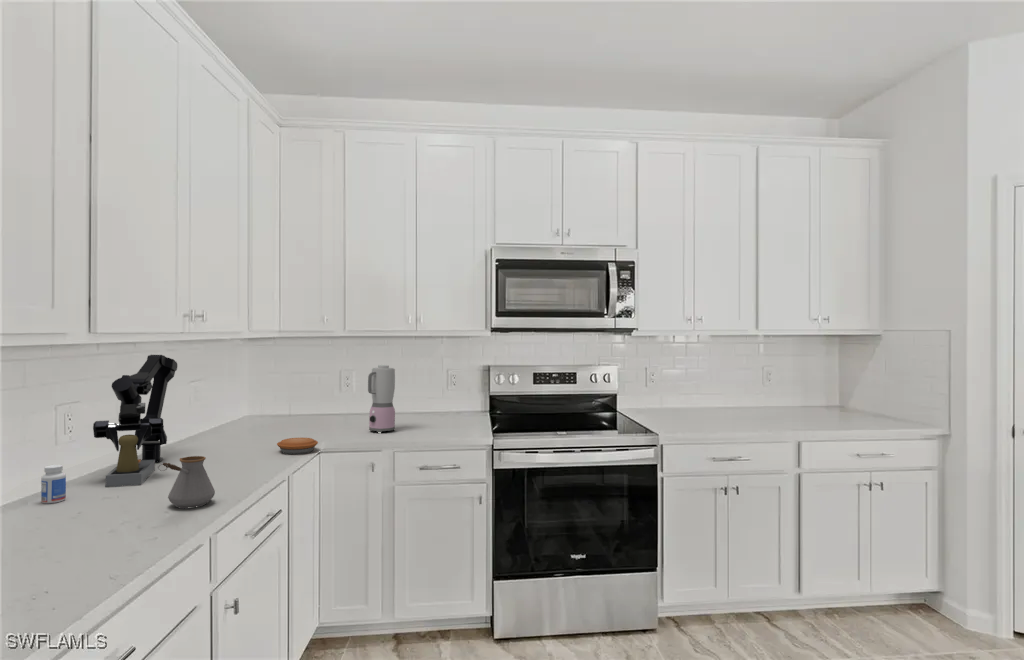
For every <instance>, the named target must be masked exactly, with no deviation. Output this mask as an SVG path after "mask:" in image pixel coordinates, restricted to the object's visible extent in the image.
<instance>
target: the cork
mask: <svg viewBox="0 0 1024 660" xmlns="http://www.w3.org/2000/svg"><path fill="white" fill-rule="evenodd" d="M118 443H119V451H118V452H119V454H118V459H117V464H116V466H117V469H116V471H117V472H132V471H136V470H139V464H138V459H139V458H138V451H137V446H136V444H137V443H138V437H137V436H136V435H135V434H124V435H121V436H120V437H118Z"/></svg>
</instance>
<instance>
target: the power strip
mask: <svg viewBox="0 0 1024 660" xmlns="http://www.w3.org/2000/svg"><path fill="white" fill-rule="evenodd" d="M138 464H139V470H136V471H132V472H117V471H116V469H117V465H116V466H115V467H114V468H113V469H112V470H111V471H109V472H108V473H106V475H105V485H104V486H105V488H109V487H108V486H115V487H125V486H124V485H131V486H141V484H144V483H145V481H146V480H147V479H148V478H149V477H150V476H151V474H153V472H154V471H155V470H154V469H155V466H156V462H155V460H142V458H141V459H139V458H138ZM153 470H154V471H153ZM149 475H150V476H149ZM148 476H149V477H148ZM147 477H148V478H147ZM146 478H147V479H146ZM145 479H146V480H145ZM122 485H123V486H122Z"/></svg>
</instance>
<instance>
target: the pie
mask: <svg viewBox="0 0 1024 660" xmlns="http://www.w3.org/2000/svg"><path fill="white" fill-rule="evenodd" d="M276 445H277V446H278V448H279V449H280V451H281V452H282V453H283V454H284V455H303V454H308V453H311V452H313V451H314V449H315V447H316V446H317V445H319V442H318V441H317V440H316V439H314V438H311V437H291V438H285V439H282V440H281V441H278V442H277V443H276Z"/></svg>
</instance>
